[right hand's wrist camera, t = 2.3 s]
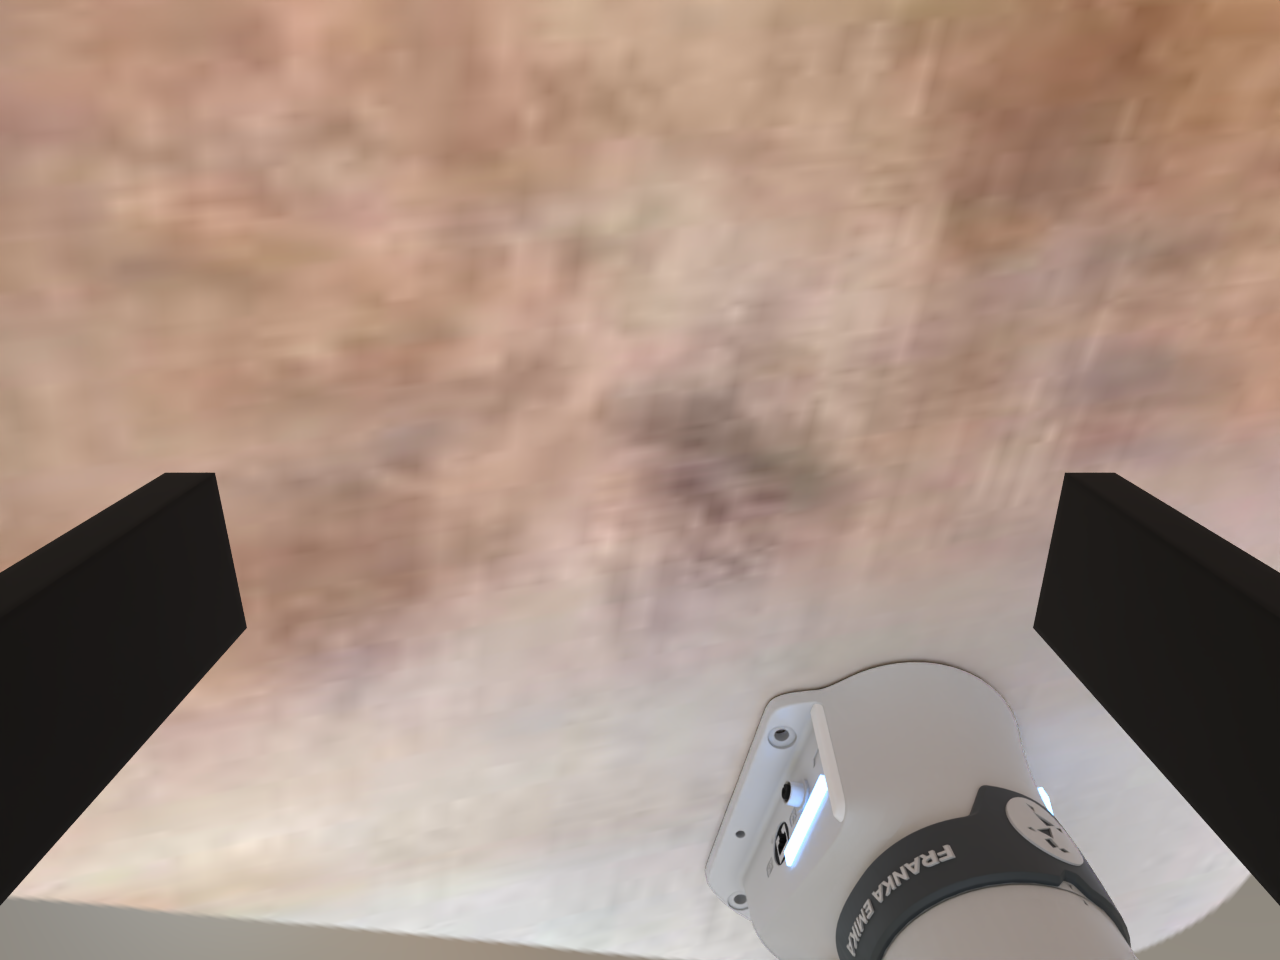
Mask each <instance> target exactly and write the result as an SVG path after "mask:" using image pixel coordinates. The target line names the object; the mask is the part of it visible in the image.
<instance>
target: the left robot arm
mask: <svg viewBox="0 0 1280 960" xmlns="http://www.w3.org/2000/svg"><path fill="white" fill-rule="evenodd" d="M780 729H784V730H785V731H784V732H782V733H776V731H778V730H780ZM705 874H706V879H707V883H708V885H709V887H710V888H711V890H712V891H713V892H714V893H715V894H716V896H717V897H718V898H719V899H720V900H721V901H722V902H723V903H725V904H726V905H727V906H728V907H729V908H731V909H732V910H734V911H735V912H736V913H738V914H740V915H741V916H743V917H745V918H746V919H748V920H750V921H752V924H753V927H754V929H755V931H756V933H757V935H758V937H759V939H760V940H761V942H762V943H763V945H764V946H765V947H766V948H767V949H768V950H769V951H770V952H771V953H772V954H773V955H774V956H776V957H777V958H778V959H779V960H1138V959H1137V957H1136V956H1135V954H1134V953H1133V951H1132V949H1131V944H1130V937H1129V933H1128V930H1127V927H1126V925H1125V923H1124V921H1123V919H1122V917H1121V915H1120V913H1119V912H1118V910H1117V908H1116V907H1115V905H1114V903H1113V902H1112V900H1111V899H1110V897H1109V895H1108V894H1107V892H1106V890H1105V889H1104V887H1103V885H1102V884H1101V882H1100V881H1099V879H1098V878H1097V876H1096V874H1095V873H1094V871H1093V870H1092V868H1091V867H1090V865H1089V864H1088V862H1087V861H1086V859H1085V858H1084V856H1083V855H1082V853H1081V852H1080V850H1079V849H1078V847H1077V846H1076V844H1075V843H1074V842H1073V840H1072V839H1071V837H1070V836H1069V835H1068V833H1067V832H1066V831H1065V829H1064V828H1063V827H1062V826H1061V824H1060V823H1059V822H1058V821H1057V819H1056V818H1055V817H1054V816H1053V812H1052V808H1051V804H1050V801H1049V797H1048V795H1047V794H1046V792H1045V791H1044V789H1043V788H1042V787H1040V788H1037V786H1036V783H1035V781H1034V779H1033V776H1032V774H1031V772H1030V769H1029V766H1028V763H1027V760H1026V757H1025V754H1024V751H1023V747H1022V744H1021V740H1020V735H1019V731H1018V726H1017V723H1016V720H1015V717H1014V715H1013V713H1012V711H1011V709H1010V707H1009V706H1008V704H1007V703H1006V701H1005V700H1004V699H1003V698H1002V696H1001V695H1000V694H999V693H998V692H997V691H996V690H995V689H994V688H992V687H991V686H990V685H989V684H987V683H986V682H984V681H983V680H981V679H980V678H978V677H976V676H974V675H972V674H970V673H968V672H966V671H963V670H961V669H958V668H954V667H951V666H947V665H942V664H936V663H927V662H904V663H895V664H889V665H884V666H879V667H876V668H872V669H869V670H866V671H863V672H860V673H858V674H855V675H853V676H851V677H849V678H847V679H844V680H842V681H840V682H838V683H836V684H834V685H831V686H829V687H826V688H823V689H820V690H810V691H801V692H794V693H788V694H783V695H780V696H778V697H776V698H774V699H772V700H771V701H770V702H769V703H768V705H767V706H766V708H765V711H764V713H763V716H762V719H761V721H760V724H759V726H758V729H757V732H756V734H755V737H754V740H753V742H752V745H751V748H750V750H749V753H748V756H747V758H746V761H745V764H744V766H743V769H742V771H741V774H740V777H739V779H738V782H737V785H736V787H735V790H734V793H733V795H732V798H731V801H730V803H729V806H728V809H727V811H726V814H725V816H724V819H723V822H722V824H721V827H720V830H719V832H718V835H717V838H716V840H715V843H714V846H713V848H712V851H711V854H710V856H709V859H708V862H707V865H706V869H705ZM739 894H741V895H739Z"/></svg>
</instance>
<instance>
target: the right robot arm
mask: <svg viewBox="0 0 1280 960" xmlns="http://www.w3.org/2000/svg"><path fill="white" fill-rule="evenodd" d="M246 628H247V626H246V621H245V617H244V612H243V607H242V602H241V597H240V592H239V587H238V583H237V578H236V573H235V568H234V563H233V558H232V554H231V549H230V544H229V539H228V534H227V529H226V524H225V520H224V515H223V510H222V505H221V500H220V495H219V490H218V486H217V481H216V476H215V473H164V474H162V475H161V476H159V477H157V478H156V479H154V480H153V481H151V482H149V483H148V484H146V485H144V486H143V487H141V488H139V489H138V490H136V491H134V492H133V493H131V494H129V495H128V496H126V497H124V498H123V499H121V500H120V501H118V502H116V503H115V504H113V505H111V506H110V507H108V508H106V509H105V510H103V511H101V512H100V513H98V514H96V515H95V516H93V517H91V518H90V519H88V520H87V521H85V522H83V523H82V524H80V525H78V526H77V527H75V528H73V529H72V530H70V531H68V532H67V533H65V534H63V535H62V536H60V537H59V538H57V539H55V540H54V541H52V542H50V543H49V544H47V545H45V546H44V547H42V548H40V549H39V550H37V551H35V552H34V553H32V554H30V555H29V556H27V557H26V558H24V559H22V560H21V561H19V562H17V563H16V564H14V565H12V566H11V567H9V568H7V569H6V570H4V571H2V572H1V573H0V905H1V904H2V903H3V902H4V901H5V900H6V899H7V897H8V896H9V895H10V894H11V893H12V892H13V891H14V889H15V888H16V887H17V886H18V885H19V884H20V883H21V882H22V880H23V879H24V878H25V877H26V876H27V875H28V874H29V873H30V871H31V870H32V869H33V868H34V867H35V866H36V865H37V864H38V862H39V861H40V860H41V859H42V858H43V857H44V856H45V855H46V853H47V852H48V851H49V850H50V849H51V848H52V847H53V846H54V844H55V843H56V842H57V841H58V840H59V839H60V838H61V837H62V835H63V834H64V833H65V832H66V831H67V830H68V829H69V828H70V826H71V825H72V824H73V823H74V822H75V821H76V820H77V819H78V817H79V816H80V815H81V814H82V813H83V812H84V811H85V810H86V808H87V807H88V806H89V805H90V804H91V803H92V802H93V800H94V799H95V798H96V797H97V796H98V795H99V794H100V793H101V791H102V790H103V789H104V788H105V787H106V786H107V785H108V784H109V782H110V781H111V780H112V779H113V778H114V777H115V776H116V775H117V773H118V772H119V771H120V770H121V769H122V768H123V767H124V766H125V764H126V763H127V762H128V761H129V760H130V759H131V758H132V757H133V755H134V754H135V753H136V752H137V751H138V750H139V749H140V748H141V746H142V745H143V744H144V743H145V742H146V741H147V740H148V739H149V737H150V736H151V735H152V734H153V733H154V732H155V731H156V730H157V728H158V727H159V726H160V725H161V724H162V723H163V722H164V721H165V719H166V718H167V717H168V716H169V715H170V714H171V713H172V712H173V710H174V709H175V708H176V707H177V706H178V705H179V704H180V702H181V701H182V700H183V699H184V698H185V697H186V696H187V695H188V693H189V692H190V691H191V690H192V689H193V688H194V687H195V686H196V684H197V683H198V682H199V681H200V680H201V679H202V678H203V677H204V675H205V674H206V673H207V672H208V671H209V670H210V669H211V668H212V666H213V665H214V664H215V663H216V662H217V661H218V660H219V659H220V657H221V656H222V655H223V654H224V653H225V652H226V651H227V650H228V648H229V647H230V646H231V645H232V644H233V643H234V642H235V641H236V639H237V638H238V637H239V636H240V635H241V634H242V633H243V632H244V630H245V629H246ZM1033 628H1034V629H1035V630H1036V632H1037V633H1038V634H1039V635H1040V636H1041V637H1042V638H1043V639H1044V641H1045V642H1046V643H1047V644H1048V645H1049V646H1050V647H1051V648H1052V650H1053V651H1054V652H1055V653H1056V654H1057V655H1058V656H1059V657H1060V659H1061V660H1062V661H1063V662H1064V663H1065V664H1066V665H1067V666H1068V668H1069V669H1070V670H1071V671H1072V672H1073V673H1074V674H1075V675H1076V677H1077V678H1078V679H1079V680H1080V681H1081V682H1082V683H1083V684H1084V686H1085V687H1086V688H1087V689H1088V690H1089V691H1090V692H1091V693H1092V695H1093V696H1094V697H1095V698H1096V699H1097V700H1098V701H1099V702H1100V704H1101V705H1102V706H1103V707H1104V708H1105V709H1106V710H1107V712H1108V713H1109V714H1110V715H1111V716H1112V717H1113V718H1114V719H1115V721H1116V722H1117V723H1118V724H1119V725H1120V726H1121V727H1122V728H1123V730H1124V731H1125V732H1126V733H1127V734H1128V735H1129V736H1130V737H1131V739H1132V740H1133V741H1134V742H1135V743H1136V744H1137V745H1138V746H1139V748H1140V749H1141V750H1142V751H1143V752H1144V753H1145V754H1146V755H1147V757H1148V758H1149V759H1150V760H1151V761H1152V762H1153V763H1154V764H1155V766H1156V767H1157V768H1158V769H1159V770H1160V771H1161V772H1162V773H1163V775H1164V776H1165V777H1166V778H1167V779H1168V780H1169V781H1170V782H1171V784H1172V785H1173V786H1174V787H1175V788H1176V789H1177V790H1178V791H1179V793H1180V794H1181V795H1182V796H1183V797H1184V798H1185V799H1186V800H1187V802H1188V803H1189V804H1190V805H1191V806H1192V807H1193V808H1194V810H1195V811H1196V812H1197V813H1198V814H1199V815H1200V816H1201V817H1202V819H1203V820H1204V821H1205V822H1206V823H1207V824H1208V825H1209V826H1210V828H1211V829H1212V830H1213V831H1214V832H1215V833H1216V834H1217V835H1218V837H1219V838H1220V839H1221V840H1222V841H1223V842H1224V843H1225V844H1226V846H1227V847H1228V848H1229V849H1230V850H1231V851H1232V852H1233V853H1234V855H1235V856H1236V857H1237V858H1238V859H1239V860H1240V861H1241V862H1242V864H1243V865H1244V866H1245V867H1246V868H1247V869H1248V870H1249V871H1250V873H1251V874H1252V875H1253V876H1254V877H1255V878H1256V879H1257V880H1258V882H1259V883H1260V884H1261V885H1262V886H1263V887H1264V888H1265V889H1266V891H1267V892H1268V893H1269V894H1270V895H1271V896H1272V897H1273V898H1274V900H1275V901H1276V902H1277V903H1278V904H1279V905H1280V573H1279V572H1278V571H1276V570H1274V569H1273V568H1271V567H1269V566H1268V565H1266V564H1264V563H1263V562H1261V561H1259V560H1258V559H1256V558H1254V557H1253V556H1251V555H1250V554H1248V553H1246V552H1245V551H1243V550H1241V549H1240V548H1238V547H1236V546H1235V545H1233V544H1231V543H1230V542H1228V541H1226V540H1225V539H1223V538H1221V537H1220V536H1218V535H1217V534H1215V533H1213V532H1212V531H1210V530H1208V529H1207V528H1205V527H1203V526H1202V525H1200V524H1198V523H1197V522H1195V521H1193V520H1192V519H1190V518H1189V517H1187V516H1185V515H1184V514H1182V513H1180V512H1179V511H1177V510H1175V509H1174V508H1172V507H1170V506H1169V505H1167V504H1165V503H1164V502H1162V501H1160V500H1159V499H1157V498H1156V497H1154V496H1152V495H1151V494H1149V493H1147V492H1146V491H1144V490H1142V489H1141V488H1139V487H1137V486H1136V485H1134V484H1132V483H1131V482H1129V481H1127V480H1126V479H1124V478H1123V477H1121V476H1119V475H1118V474H1116V473H1065V476H1064V481H1063V486H1062V490H1061V495H1060V500H1059V505H1058V510H1057V515H1056V520H1055V524H1054V529H1053V534H1052V539H1051V544H1050V549H1049V553H1048V558H1047V563H1046V568H1045V573H1044V578H1043V583H1042V587H1041V592H1040V597H1039V602H1038V607H1037V612H1036V617H1035V621H1034V626H1033Z"/></svg>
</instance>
